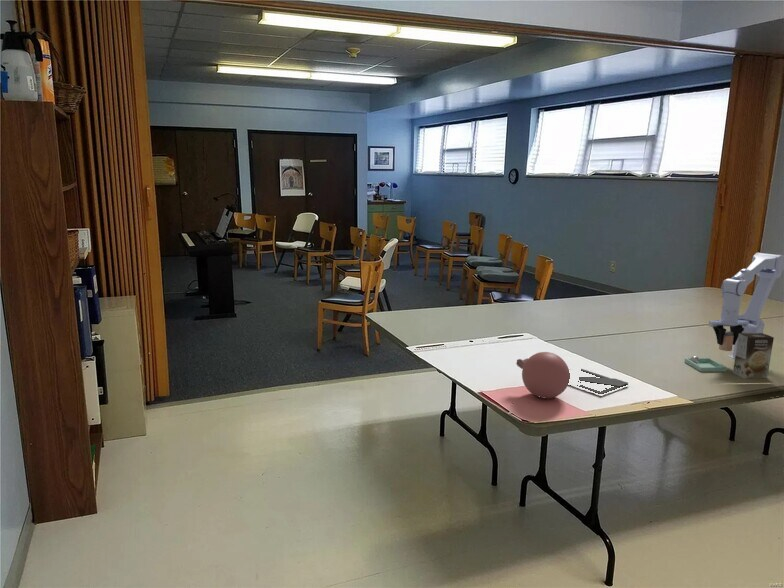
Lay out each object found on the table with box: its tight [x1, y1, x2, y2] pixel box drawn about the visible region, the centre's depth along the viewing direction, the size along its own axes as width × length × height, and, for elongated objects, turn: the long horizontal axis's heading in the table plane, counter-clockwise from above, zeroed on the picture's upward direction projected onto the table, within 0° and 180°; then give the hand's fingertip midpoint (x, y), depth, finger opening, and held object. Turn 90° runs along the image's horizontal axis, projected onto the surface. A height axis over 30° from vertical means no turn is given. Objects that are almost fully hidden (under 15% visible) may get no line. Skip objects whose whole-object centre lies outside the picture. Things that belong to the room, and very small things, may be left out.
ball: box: [689, 355, 700, 364], centre depth 215 cm, size 3×3×3 cm
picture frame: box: [577, 368, 629, 394], centre depth 197 cm, size 16×2×21 cm
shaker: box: [718, 330, 734, 352], centre depth 212 cm, size 4×4×7 cm
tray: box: [684, 357, 728, 373], centre depth 212 cm, size 10×11×2 cm
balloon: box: [515, 351, 570, 399], centre depth 185 cm, size 15×20×15 cm
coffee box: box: [732, 332, 775, 379], centre depth 201 cm, size 9×6×16 cm
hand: (726, 344), depth 213 cm, fingers closed on shaker, 4 cm apart
